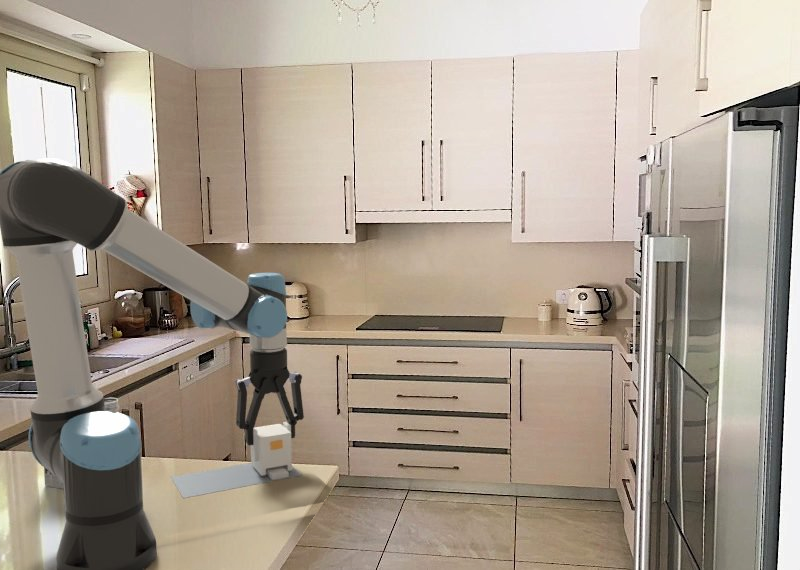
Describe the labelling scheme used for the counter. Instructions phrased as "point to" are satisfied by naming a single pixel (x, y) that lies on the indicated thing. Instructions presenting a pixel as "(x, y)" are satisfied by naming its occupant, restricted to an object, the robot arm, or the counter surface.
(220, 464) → the counter surface
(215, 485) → the panel
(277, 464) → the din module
